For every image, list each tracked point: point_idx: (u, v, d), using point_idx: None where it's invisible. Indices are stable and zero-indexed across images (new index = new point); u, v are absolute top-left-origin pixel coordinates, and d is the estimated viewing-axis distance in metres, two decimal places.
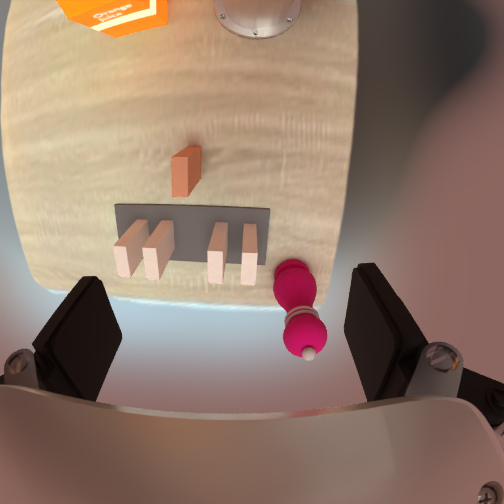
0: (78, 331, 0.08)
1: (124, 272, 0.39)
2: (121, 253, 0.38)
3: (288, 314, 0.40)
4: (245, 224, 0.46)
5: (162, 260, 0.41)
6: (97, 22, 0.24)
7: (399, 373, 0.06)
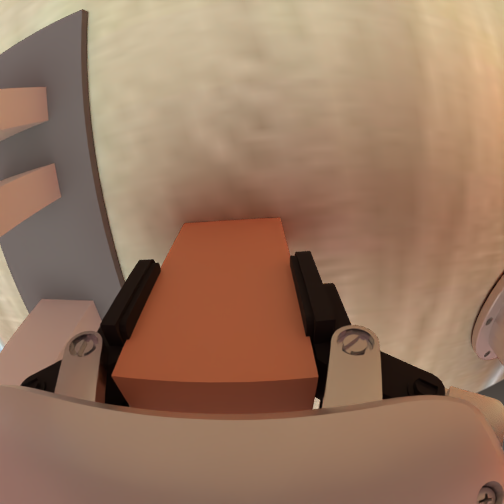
0: None
1: None
2: None
3: None
4: None
5: None
6: None
7: (314, 353, 0.07)
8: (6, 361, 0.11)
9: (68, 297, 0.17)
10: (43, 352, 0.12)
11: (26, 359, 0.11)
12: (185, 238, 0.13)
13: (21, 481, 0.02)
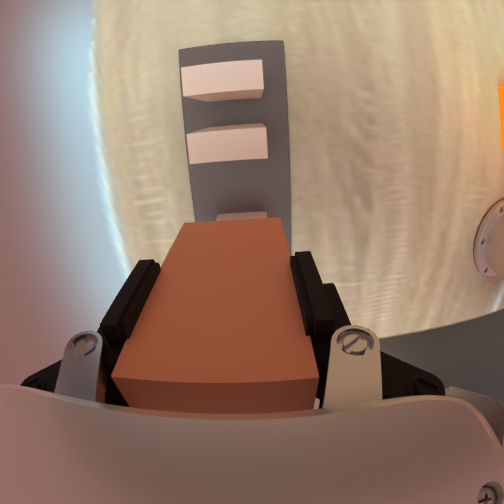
0: None
1: (194, 81, 0.15)
2: (245, 77, 0.15)
3: None
4: None
5: None
6: None
7: (314, 353, 0.07)
8: None
9: (246, 210, 0.30)
10: None
11: None
12: (185, 237, 0.13)
13: (21, 481, 0.02)
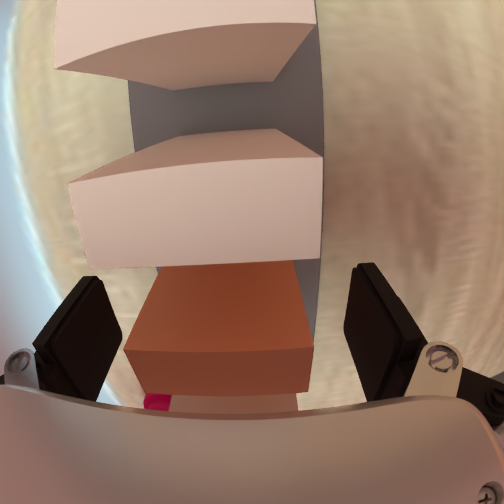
0: (78, 331, 0.08)
1: (86, 18, 0.03)
2: None
3: None
4: None
5: None
6: None
7: (399, 372, 0.06)
8: None
9: None
10: None
11: None
12: None
13: (21, 481, 0.02)
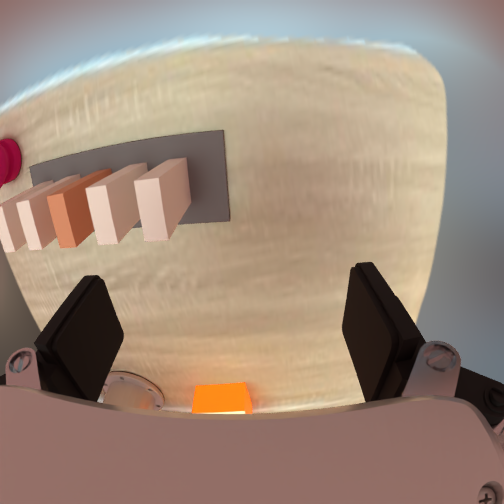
0: (80, 330, 0.08)
1: (146, 189, 0.20)
2: (152, 228, 0.22)
3: None
4: None
5: None
6: None
7: (396, 371, 0.06)
8: None
9: None
10: None
11: None
12: (104, 176, 0.27)
13: (21, 481, 0.02)
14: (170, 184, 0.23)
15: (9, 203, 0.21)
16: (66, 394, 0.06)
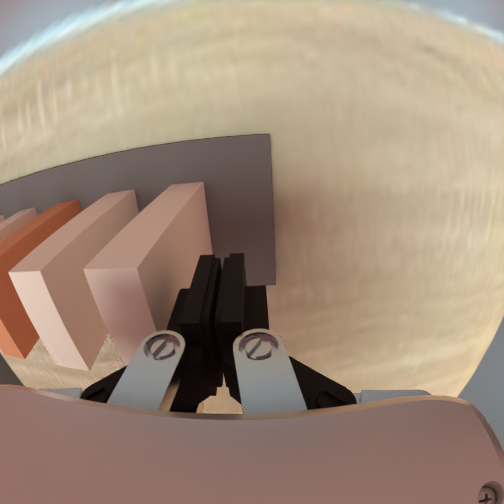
0: (215, 308, 0.09)
1: (112, 291, 0.08)
2: None
3: None
4: None
5: None
6: None
7: (224, 354, 0.07)
8: None
9: None
10: None
11: None
12: (65, 216, 0.15)
13: (21, 481, 0.02)
14: (172, 257, 0.11)
15: None
16: (207, 377, 0.07)
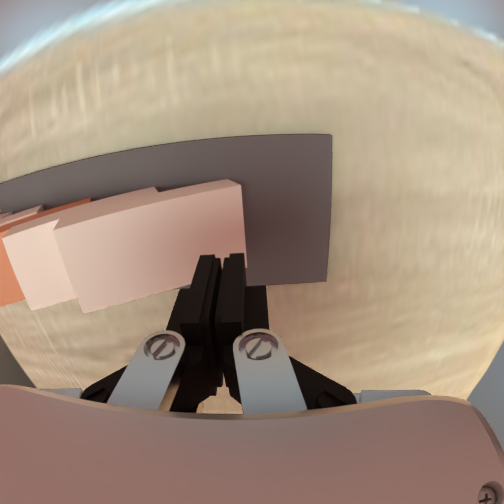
0: (215, 308, 0.09)
1: None
2: None
3: None
4: None
5: None
6: None
7: (224, 354, 0.07)
8: None
9: None
10: None
11: None
12: None
13: (21, 481, 0.02)
14: (111, 238, 0.13)
15: None
16: (207, 377, 0.07)
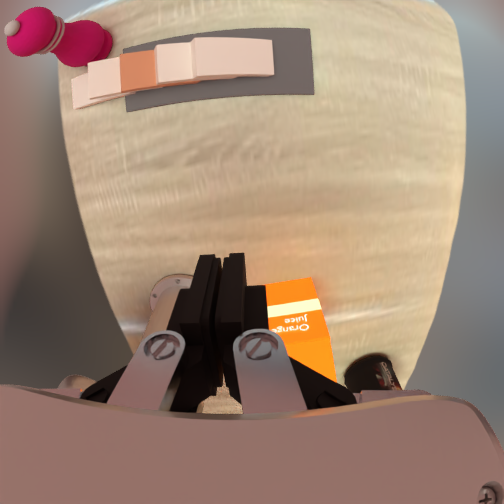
0: (215, 308, 0.09)
1: (192, 45, 0.27)
2: (193, 69, 0.28)
3: (60, 36, 0.19)
4: (127, 93, 0.32)
5: None
6: (311, 314, 0.39)
7: (224, 354, 0.07)
8: (114, 65, 0.27)
9: None
10: None
11: (119, 76, 0.28)
12: None
13: (21, 481, 0.02)
14: (219, 46, 0.27)
15: (77, 77, 0.30)
16: (207, 377, 0.07)
